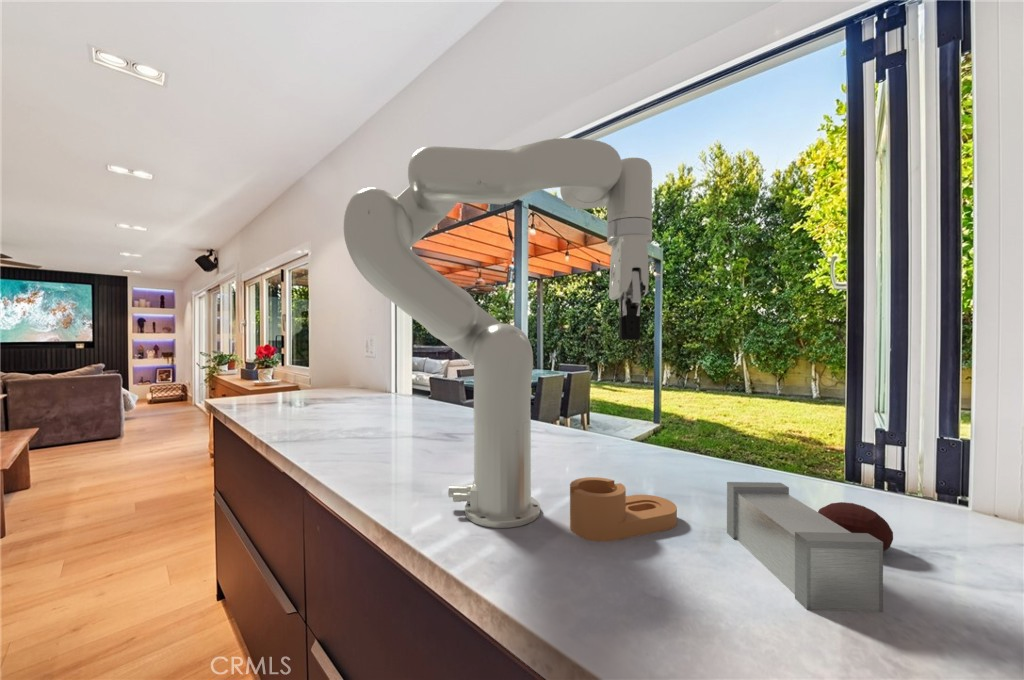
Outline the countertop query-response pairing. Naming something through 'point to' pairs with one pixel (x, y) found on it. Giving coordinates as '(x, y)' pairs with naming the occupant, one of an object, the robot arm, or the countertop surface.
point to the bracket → (616, 511)
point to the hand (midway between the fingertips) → (629, 339)
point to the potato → (859, 521)
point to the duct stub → (806, 549)
